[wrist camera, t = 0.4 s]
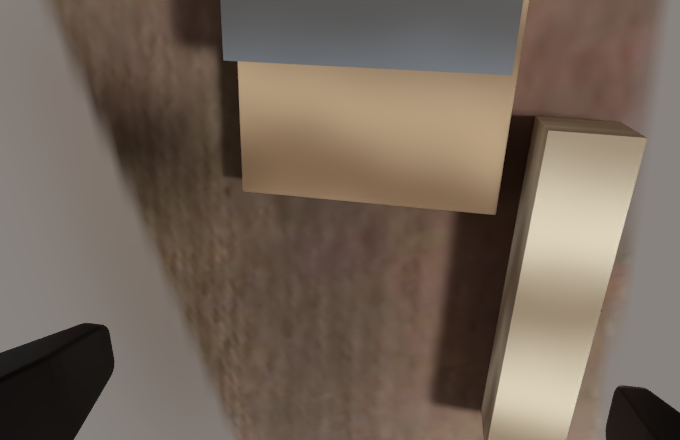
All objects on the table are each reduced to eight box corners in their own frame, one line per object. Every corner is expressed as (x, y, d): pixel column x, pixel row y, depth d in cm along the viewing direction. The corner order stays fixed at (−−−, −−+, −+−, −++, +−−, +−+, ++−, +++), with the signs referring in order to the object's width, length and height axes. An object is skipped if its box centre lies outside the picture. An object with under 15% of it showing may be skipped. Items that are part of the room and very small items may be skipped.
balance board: (492, 202, 21) (502, 241, 17) (255, 180, 22) (217, 212, 19) (552, -195, 16) (584, -259, 12) (244, -185, 17) (190, -240, 14)
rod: (545, 416, 24) (558, 466, 21) (480, 405, 25) (485, 454, 22) (618, 120, 19) (647, 138, 16) (534, 114, 19) (548, 130, 17)
